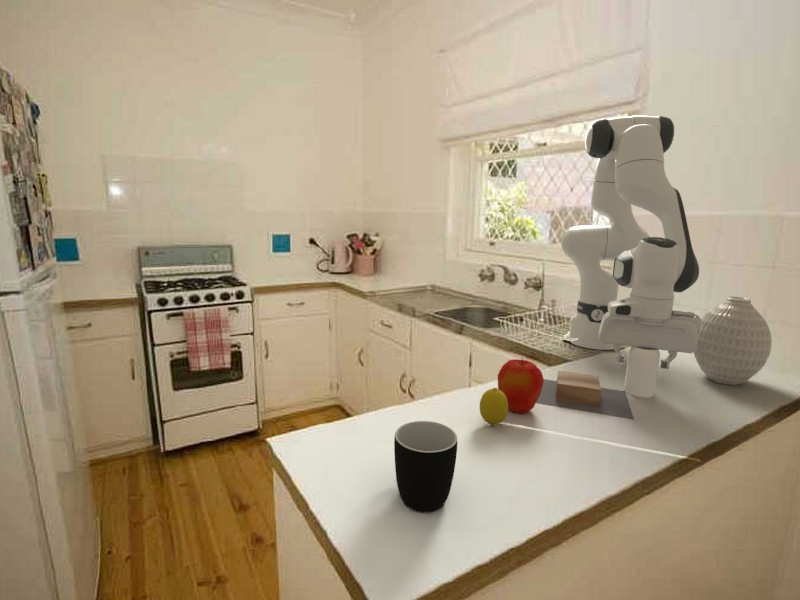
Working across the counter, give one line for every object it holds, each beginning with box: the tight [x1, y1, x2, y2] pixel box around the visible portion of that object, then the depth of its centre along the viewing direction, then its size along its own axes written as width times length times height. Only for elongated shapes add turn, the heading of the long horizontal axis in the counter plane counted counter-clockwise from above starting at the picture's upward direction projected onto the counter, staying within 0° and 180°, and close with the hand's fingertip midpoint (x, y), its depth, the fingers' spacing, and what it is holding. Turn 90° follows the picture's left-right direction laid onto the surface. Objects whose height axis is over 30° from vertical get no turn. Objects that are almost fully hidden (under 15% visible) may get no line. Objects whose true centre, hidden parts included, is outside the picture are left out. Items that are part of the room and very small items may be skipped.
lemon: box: [479, 387, 509, 427], centre depth 86 cm, size 6×6×8 cm
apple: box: [497, 357, 545, 414], centre depth 92 cm, size 9×9×12 cm
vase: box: [693, 295, 773, 386], centre depth 113 cm, size 16×16×22 cm
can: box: [623, 346, 661, 398], centre depth 104 cm, size 6×6×12 cm
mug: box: [393, 420, 458, 513], centre depth 64 cm, size 12×9×10 cm
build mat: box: [536, 378, 635, 420], centre depth 101 cm, size 16×22×1 cm
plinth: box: [556, 370, 602, 407], centre depth 101 cm, size 9×9×4 cm
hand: (641, 365), depth 103 cm, fingers open, 8 cm apart
